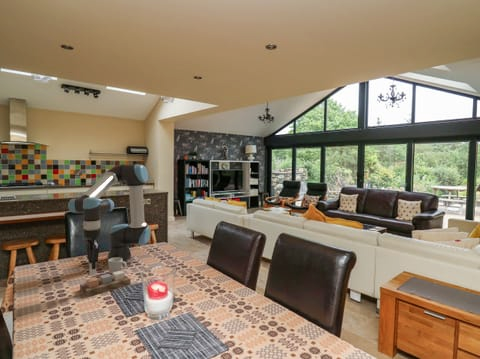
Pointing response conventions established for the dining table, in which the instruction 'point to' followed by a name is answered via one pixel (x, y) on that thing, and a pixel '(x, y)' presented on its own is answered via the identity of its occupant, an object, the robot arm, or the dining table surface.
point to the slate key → (105, 279)
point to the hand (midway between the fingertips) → (92, 274)
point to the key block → (104, 286)
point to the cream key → (118, 275)
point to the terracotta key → (92, 282)
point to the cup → (116, 264)
